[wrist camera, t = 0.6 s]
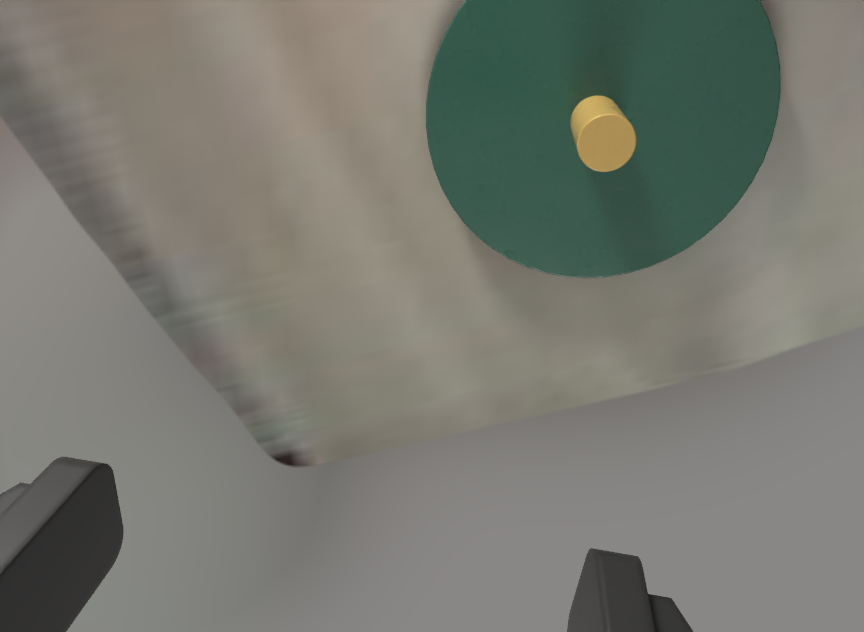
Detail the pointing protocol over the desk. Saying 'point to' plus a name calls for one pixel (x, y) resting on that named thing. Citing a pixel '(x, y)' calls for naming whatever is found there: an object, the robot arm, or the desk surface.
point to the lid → (600, 125)
